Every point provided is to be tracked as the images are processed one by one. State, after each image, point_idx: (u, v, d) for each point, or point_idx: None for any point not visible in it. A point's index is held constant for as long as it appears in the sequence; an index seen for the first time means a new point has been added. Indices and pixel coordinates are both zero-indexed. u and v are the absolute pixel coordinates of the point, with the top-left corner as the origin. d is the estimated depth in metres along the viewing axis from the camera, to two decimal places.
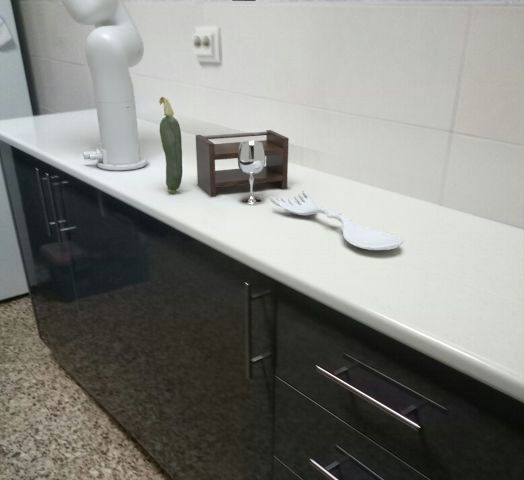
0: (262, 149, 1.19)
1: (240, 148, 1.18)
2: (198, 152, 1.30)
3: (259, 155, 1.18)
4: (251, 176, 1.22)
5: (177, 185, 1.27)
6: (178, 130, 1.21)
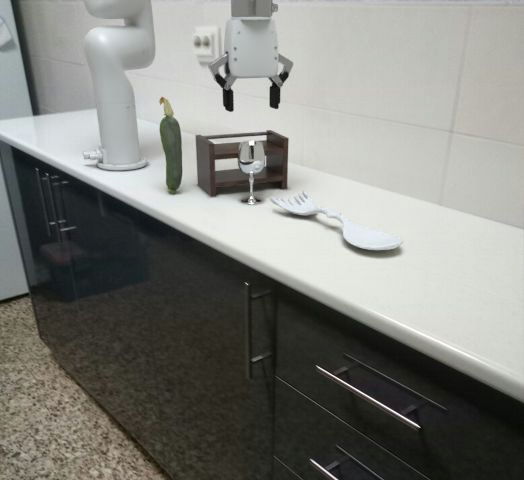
0: (262, 149, 1.19)
1: (240, 148, 1.18)
2: (198, 152, 1.30)
3: (259, 155, 1.18)
4: (251, 176, 1.22)
5: (177, 185, 1.27)
6: (178, 130, 1.21)
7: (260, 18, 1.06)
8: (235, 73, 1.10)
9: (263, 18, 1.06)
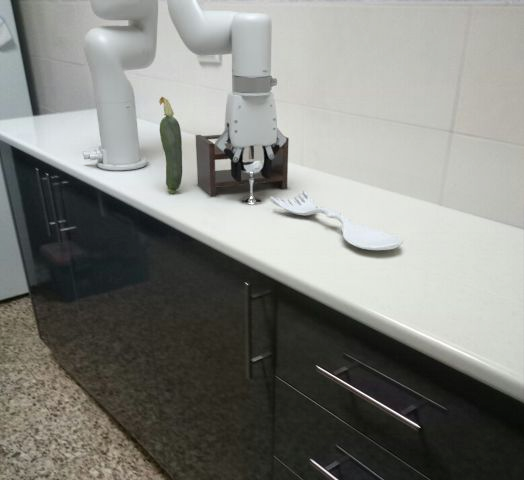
0: (262, 149, 1.19)
1: None
2: (198, 152, 1.30)
3: (259, 155, 1.18)
4: (251, 176, 1.22)
5: (177, 185, 1.27)
6: (178, 130, 1.21)
7: (260, 94, 1.11)
8: (235, 143, 1.16)
9: (262, 94, 1.11)
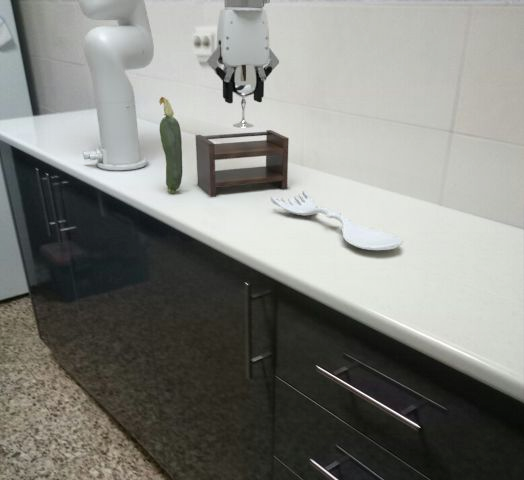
0: (254, 69, 1.18)
1: None
2: (198, 152, 1.30)
3: (251, 75, 1.17)
4: (243, 99, 1.21)
5: (177, 185, 1.27)
6: (178, 130, 1.21)
7: (252, 9, 1.10)
8: (227, 61, 1.15)
9: (255, 9, 1.11)
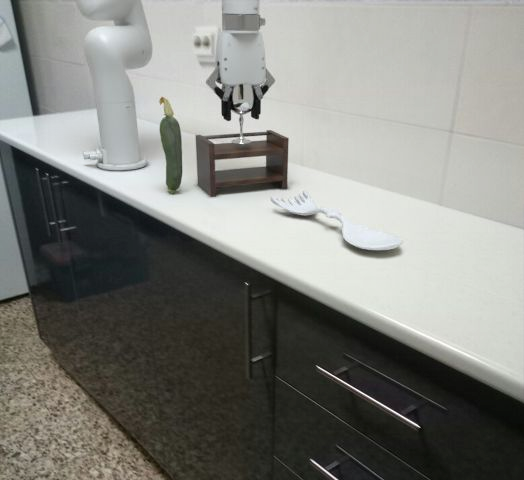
0: (251, 88, 1.23)
1: None
2: (198, 152, 1.30)
3: (248, 94, 1.22)
4: (241, 116, 1.26)
5: (177, 185, 1.27)
6: (178, 130, 1.21)
7: (248, 32, 1.15)
8: (225, 81, 1.20)
9: (251, 32, 1.16)
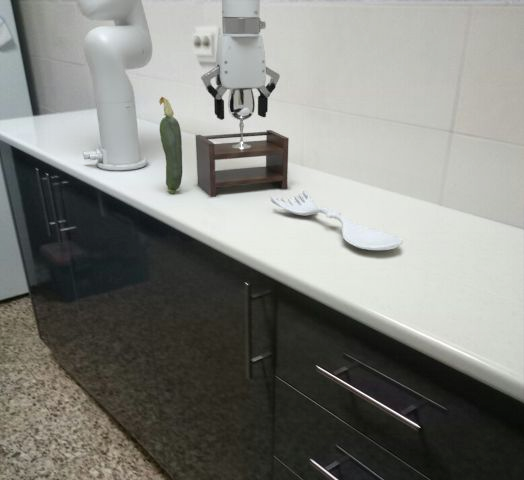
0: (251, 94, 1.23)
1: (230, 93, 1.23)
2: (198, 152, 1.30)
3: (249, 99, 1.23)
4: (241, 121, 1.27)
5: (177, 185, 1.27)
6: (178, 130, 1.21)
7: (248, 35, 1.16)
8: (226, 84, 1.20)
9: (251, 35, 1.16)
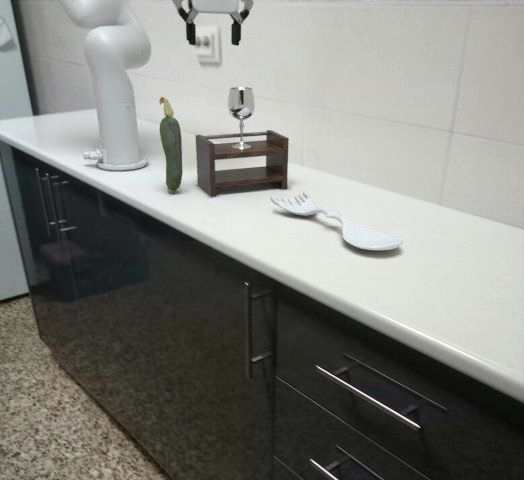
0: (251, 94, 1.23)
1: (230, 93, 1.23)
2: (198, 152, 1.30)
3: (249, 99, 1.23)
4: (241, 121, 1.27)
5: (177, 185, 1.27)
6: (178, 130, 1.21)
7: None
8: (197, 7, 1.18)
9: None
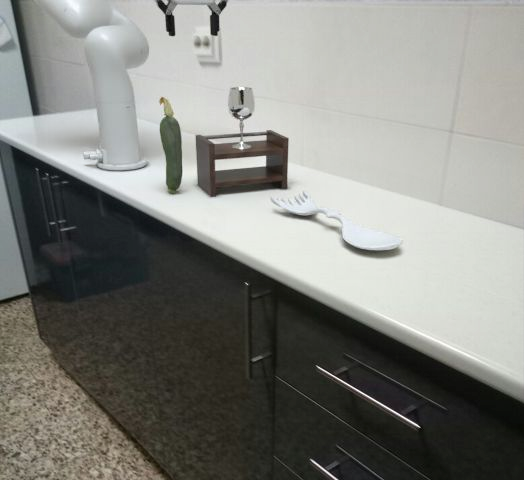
0: (251, 94, 1.23)
1: (230, 93, 1.23)
2: (198, 152, 1.30)
3: (249, 99, 1.23)
4: (241, 121, 1.27)
5: (177, 185, 1.27)
6: (178, 130, 1.21)
7: None
8: None
9: None
